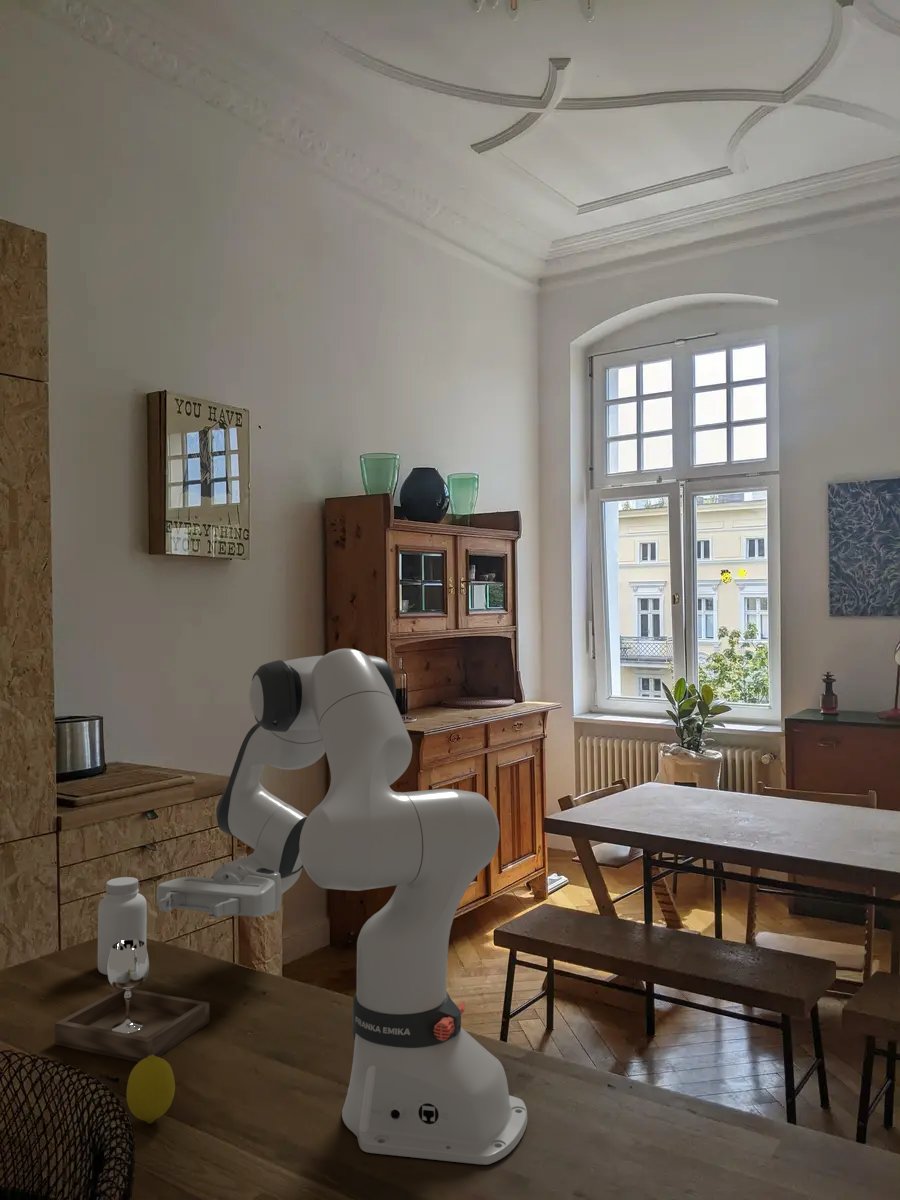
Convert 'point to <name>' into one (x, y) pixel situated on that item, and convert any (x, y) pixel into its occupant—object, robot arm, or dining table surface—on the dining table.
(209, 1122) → the dining table surface
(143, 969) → the wineglass
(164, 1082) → the lemon
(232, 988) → the dining table surface
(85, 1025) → the tray
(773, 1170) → the dining table surface
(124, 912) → the pill bottle
